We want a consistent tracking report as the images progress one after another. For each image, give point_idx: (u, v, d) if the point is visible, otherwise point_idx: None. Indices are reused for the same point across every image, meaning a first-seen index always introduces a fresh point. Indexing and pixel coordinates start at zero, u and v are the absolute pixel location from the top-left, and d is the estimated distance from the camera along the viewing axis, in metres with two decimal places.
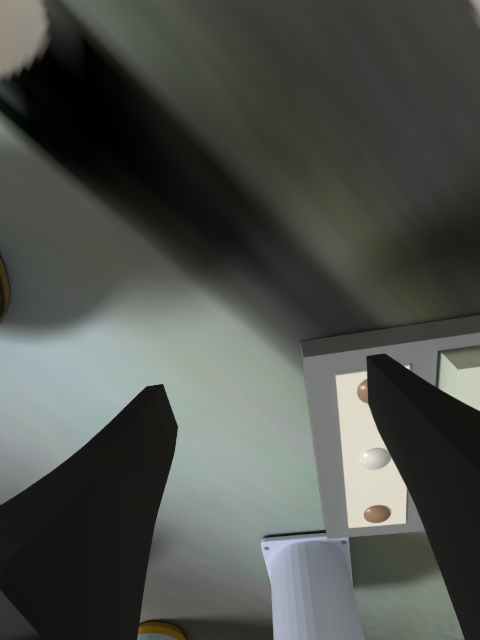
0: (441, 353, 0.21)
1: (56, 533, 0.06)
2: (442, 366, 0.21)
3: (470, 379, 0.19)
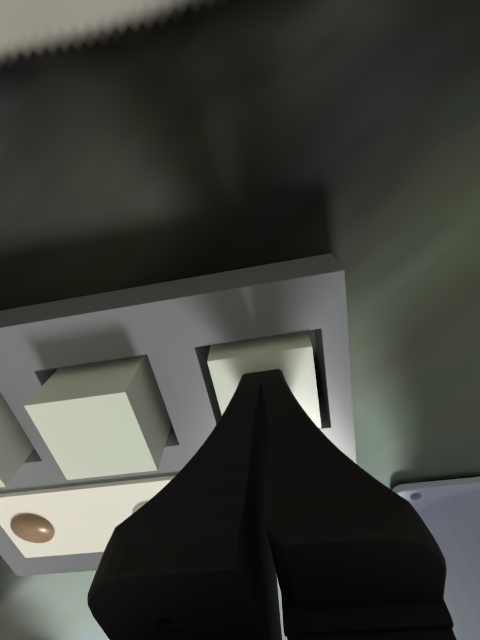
0: None
1: (246, 516, 0.06)
2: None
3: None
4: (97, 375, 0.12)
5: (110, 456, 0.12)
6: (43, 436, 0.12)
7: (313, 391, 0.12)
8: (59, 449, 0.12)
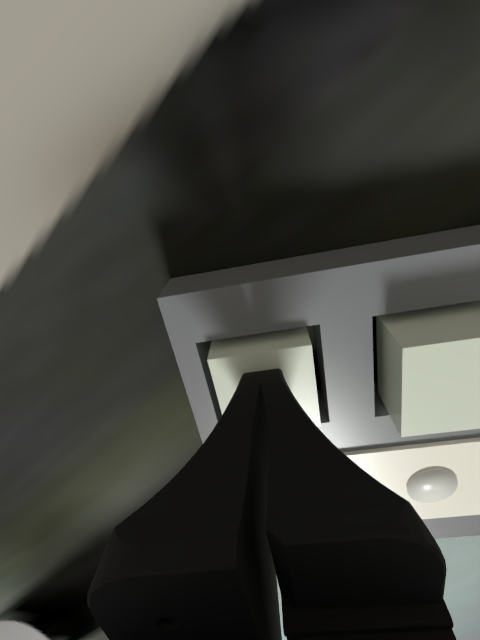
0: None
1: (246, 516, 0.06)
2: None
3: None
4: (453, 319, 0.11)
5: (467, 409, 0.11)
6: (404, 385, 0.10)
7: None
8: (413, 400, 0.11)
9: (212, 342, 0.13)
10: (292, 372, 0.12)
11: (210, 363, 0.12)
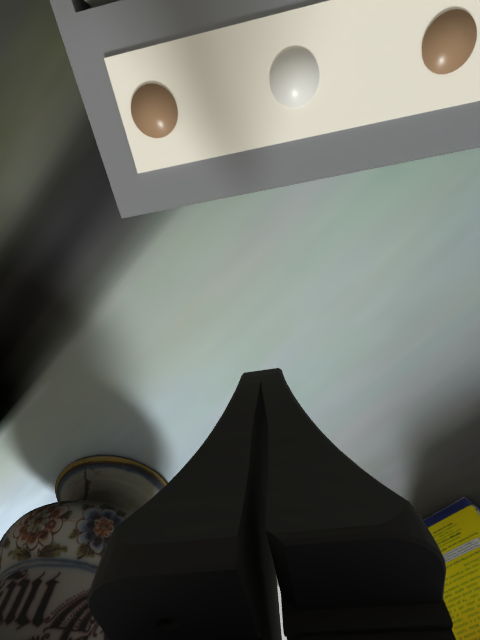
0: None
1: (246, 516, 0.06)
2: None
3: None
4: None
5: None
6: None
7: None
8: None
9: None
10: None
11: None
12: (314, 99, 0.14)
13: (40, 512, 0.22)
